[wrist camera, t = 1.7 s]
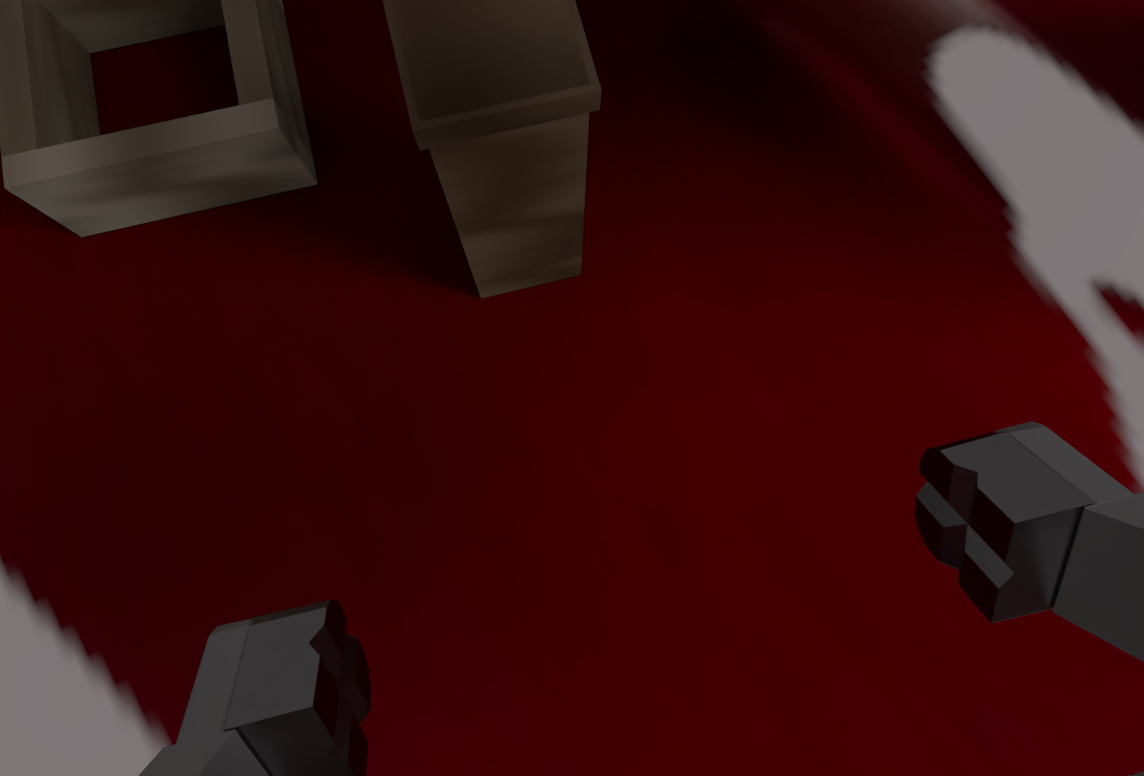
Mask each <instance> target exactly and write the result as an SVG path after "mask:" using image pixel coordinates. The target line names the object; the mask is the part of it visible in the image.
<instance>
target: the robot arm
mask: <svg viewBox="0 0 1144 776" xmlns="http://www.w3.org/2000/svg"><path fill="white" fill-rule="evenodd" d="M919 472H920V473H921V474H922V476H923V477H924V478H925V479H926V480H927V481H928V482H927V483H926V484H925V485H924V487H923V488H922V489H921V490H920V492H919V493H918V494H917V495H916V500H915V513H914V515H915V519H916V522H917V526H918V530H919V533H920V535H921V537H922V539H923V541H924V542H925V544H926V546H927V548H928V549H929V550H930V551H931V553H932V554H933V555H934V556H935V558H936V559H937V560H938V561H940V562H942V563H944V564H947V565H949V566H951V567H953V568H956V569H958V570H959V586H960V587H961V589H962V590H963V591H964V592H965V593H966V595H967V596H968V597H969V598H970V599H971V600H972V602H973V603H974V604H975V605H976V606H977V607H978V609H979V610H980V611H981V612H982V613H983V615H984V616H985V617H986V618H987V619H988V620H989V622H990V623H994V622H998V621H1002V620H1006V619H1011V618H1015V617H1019V616H1023V615H1027V614H1031V613H1036V612H1040V611H1044V610H1048V609H1052V608H1053V611H1052V612H1054V613H1056V614H1057V615H1059V616H1061V617H1063V618H1065V619H1066V620H1068V621H1070V622H1072V623H1074V624H1076V625H1077V626H1079V627H1081V628H1083V629H1085V630H1087V631H1088V632H1090V633H1092V634H1094V635H1096V636H1098V637H1099V638H1101V639H1103V640H1105V641H1107V642H1109V643H1110V644H1112V645H1114V646H1116V647H1118V648H1120V649H1121V650H1123V651H1125V652H1127V653H1129V654H1130V655H1132V656H1134V657H1136V658H1138V659H1140V660H1141V661H1143V662H1144V492H1141V493H1137V494H1133V493H1132V492H1130V491H1129V490H1128V489H1126V488H1125V487H1124V486H1122V485H1121V484H1120V483H1119V482H1117V481H1116V480H1115V479H1113V478H1112V477H1111V476H1109V475H1108V474H1107V473H1106V472H1104V471H1103V470H1102V469H1100V468H1099V467H1098V466H1096V465H1095V464H1094V463H1093V462H1091V461H1090V460H1089V459H1087V458H1086V457H1085V456H1083V455H1082V454H1081V453H1080V452H1078V451H1077V450H1076V449H1074V448H1073V447H1072V446H1070V445H1069V444H1068V443H1067V442H1065V441H1064V440H1063V439H1061V438H1060V437H1059V436H1057V435H1056V434H1055V433H1054V432H1052V431H1051V430H1050V429H1048V428H1047V427H1046V426H1044V425H1042V424H1039V423H1036V422H1032V421H1031V422H1028V423H1024V424H1020V425H1016V426H1012V427H1009V428H1005V429H1001V430H997V431H996V432H990V433H986V434H982V435H979V436H975V437H971V438H967V439H963V440H959V441H956V442H952V443H948V444H944V445H940V446H937V447H933V448H929V449H927V450H926V451H925V453H924V454H923V456H922V457H921V462H920V469H919ZM346 621H347V616H346V615H345V613H344V611H343V609H342V608H341V606H340V604H339V602H338V601H336V600H327V601H323V602H319V603H314V604H310V605H305V606H301V607H296V608H292V609H288V610H283V611H279V612H274V613H270V614H266V615H261V616H257V617H256V618H252V619H247V620H243V621H238V622H234V623H229V624H225V625H220V626H217V627H216V628H215V630H214V631H213V632H212V633H211V634H210V636H209V638H208V640H207V644H206V647H205V650H204V653H203V657H202V660H201V663H200V666H199V670H198V673H197V676H196V680H195V683H194V686H193V689H192V693H191V696H190V699H189V702H188V706H187V709H186V712H185V716H184V719H183V722H182V725H181V729H180V732H179V735H178V738H177V742H176V744H175V745H172V746H168V747H165V748H163V749H162V750H161V751H160V752H159V753H158V754H157V756H156V757H155V758H154V759H153V760H152V761H151V762H150V763H149V765H148V766H147V767H146V768H145V769H144V770H143V771H142V773H141V774H140V775H139V776H366V768H367V754H368V740H367V738H366V736H365V735H364V733H363V731H362V729H361V727H360V724H361V723H362V721H363V720H364V718H365V717H366V715H367V714H368V712H369V711H370V705H371V683H370V675H369V667H368V663H367V660H366V657H365V653H364V650H363V648H362V646H361V644H360V642H359V640H358V639H357V638H355V637H353V636H351V635H348V634H346V633H345V631H346ZM1130 776H1144V772H1140V773H1137V774H1133V775H1130Z"/></svg>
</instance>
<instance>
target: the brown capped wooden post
mask: <svg viewBox="0 0 1144 776" xmlns="http://www.w3.org/2000/svg"><path fill="white" fill-rule="evenodd" d="M383 4H384V8H385V12H386V17H387V21H388V25H389V30H390V34H391V39H392V43H393V47H394V52H395V56H396V60H397V65H398V69H399V73H400V78H401V82H402V87H403V91H404V95H405V100H406V104H407V108H408V113H409V117H410V121H411V126H412V130H413V133H414V136H415V139H416V141H417V144H418V147H419V149H420V150H424V149H428V148H429V150H430V153H431V156H432V159H433V161H434V164H435V167H436V170H437V173H438V176H439V179H440V182H441V185H442V187H443V190H444V193H445V196H446V199H447V202H448V205H449V208H450V210H451V213H452V216H453V219H454V222H455V225H456V228H457V231H458V233H459V236H460V239H461V242H462V245H463V248H464V251H465V254H466V256H467V259H468V262H469V265H470V268H471V271H472V274H473V277H474V279H475V282H476V285H477V288H478V291H479V294H480V297H481V298H485V297H489V296H493V295H497V294H502V293H506V292H510V291H514V290H519V289H523V288H527V287H531V286H536V285H540V284H544V283H548V282H552V281H557V280H561V279H565V278H569V277H574V276H578V275H581V261H582V242H583V223H584V204H585V185H586V165H587V146H588V127H589V112H594V111H598V110H600V101H601V87H600V83H599V80H598V76H597V73H596V70H595V66H594V63H593V59H592V56H591V53H590V49H589V46H588V42H587V39H586V36H585V32H584V29H583V25H582V22H581V19H580V15H579V12H578V8H577V5H576V2H575V0H383Z"/></svg>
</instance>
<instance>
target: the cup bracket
mask: <svg viewBox="0 0 1144 776" xmlns="http://www.w3.org/2000/svg"><path fill="white" fill-rule="evenodd" d="M222 25H225V26H226V32H227V38H228V43H229V49H230V55H231V61H232V66H233V72H234V78H235V84H236V89H237V95H238V101H239V106H234V107H230V108H225V109H220V110H216V111H211V112H207V113H202V114H197V115H193V116H188V117H184V118H179V119H174V120H170V121H165V122H160V123H156V124H151V125H147V126H142V127H137V128H133V129H128V130H123V131H119V132H114V133H110V134H105V135H100V130H99V122H98V114H97V106H96V99H95V91H94V83H93V75H92V67H91V60H90V53H93V52H98V51H102V50H107V49H112V48H117V47H122V46H126V45H131V44H136V43H141V42H145V41H150V40H155V39H160V38H164V37H169V36H174V35H179V34H184V33H188V32H193V31H198V30H203V29H207V28H212V27H217V26H222ZM0 146H1V157H2V167H3V178H4V188H5V189H7V190H8V191H10V192H12V193H13V194H15V195H16V196H18V197H19V198H21V199H23V200H24V201H26V202H27V203H29V204H30V205H32V206H34V207H35V208H37V209H38V210H40V211H41V212H43V213H45V214H46V215H48V216H49V217H51V218H52V219H54V220H56V221H57V222H59V223H60V224H62V225H64V226H65V227H67V228H68V229H70V230H71V231H73V232H75V233H76V234H78V235H79V236H81V237H84V236H88V235H93V234H97V233H102V232H106V231H111V230H115V229H120V228H124V227H129V226H133V225H138V224H142V223H146V222H151V221H155V220H160V219H164V218H169V217H173V216H178V215H182V214H187V213H191V212H195V211H200V210H204V209H209V208H213V207H218V206H222V205H227V204H231V203H236V202H240V201H245V200H249V199H253V198H258V197H262V196H267V195H271V194H276V193H280V192H285V191H289V190H294V189H298V188H302V187H307V186H311V185H316V184H318V183H317V178H316V173H315V168H314V162H313V157H312V152H311V147H310V142H309V137H308V132H307V127H306V121H305V116H304V111H303V106H302V101H301V96H300V91H299V86H298V80H297V75H296V70H295V65H294V60H293V55H292V50H291V44H290V39H289V34H288V29H287V24H286V19H285V14H284V9H283V3H282V0H0Z"/></svg>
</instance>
